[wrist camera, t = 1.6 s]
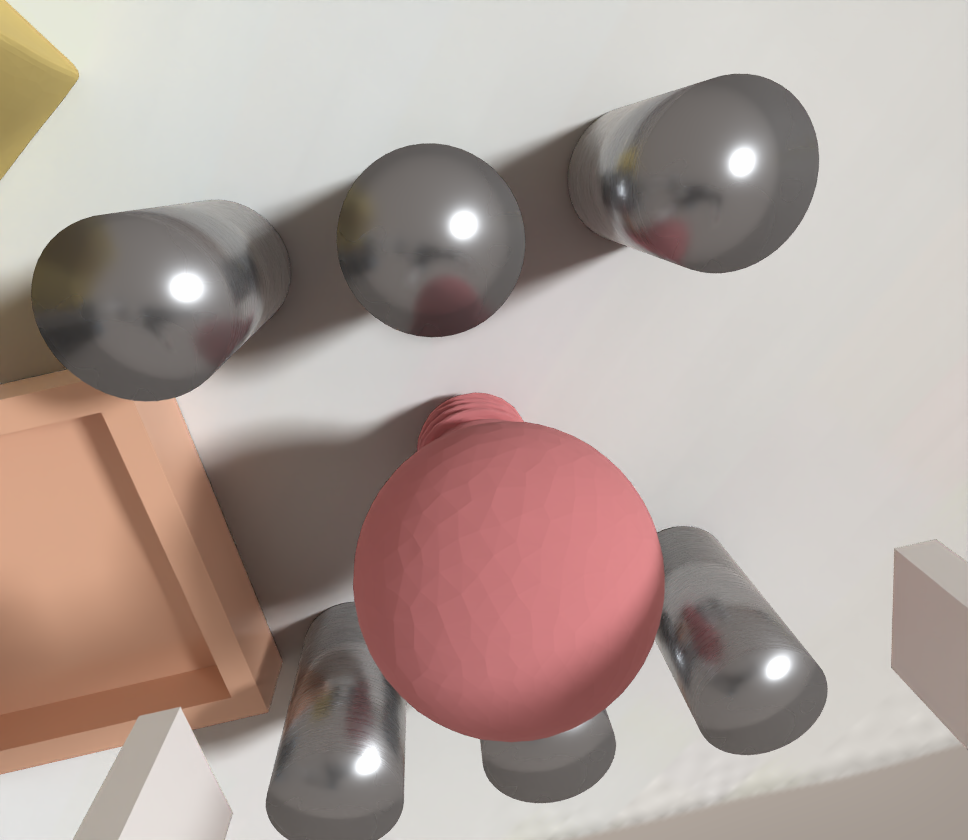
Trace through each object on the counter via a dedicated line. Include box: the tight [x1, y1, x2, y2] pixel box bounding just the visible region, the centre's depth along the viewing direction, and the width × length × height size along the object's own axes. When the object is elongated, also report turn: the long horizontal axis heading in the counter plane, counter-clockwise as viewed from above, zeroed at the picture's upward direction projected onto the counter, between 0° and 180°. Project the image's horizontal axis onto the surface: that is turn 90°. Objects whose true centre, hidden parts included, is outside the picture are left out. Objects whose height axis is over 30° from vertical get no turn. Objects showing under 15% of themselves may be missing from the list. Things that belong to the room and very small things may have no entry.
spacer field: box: [31, 74, 827, 840], centre depth 20 cm, size 17×19×7 cm
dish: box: [0, 369, 283, 774], centre depth 22 cm, size 13×13×3 cm
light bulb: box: [353, 393, 665, 742], centre depth 18 cm, size 7×7×12 cm
